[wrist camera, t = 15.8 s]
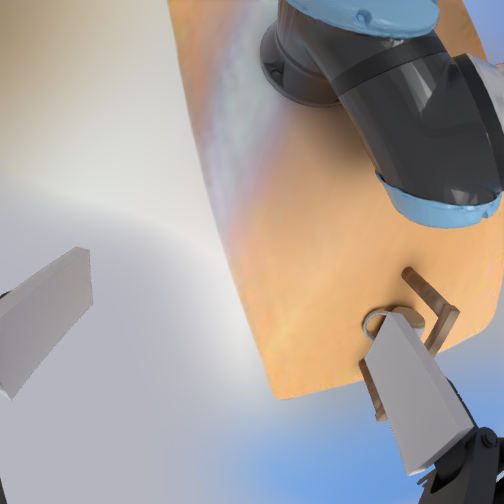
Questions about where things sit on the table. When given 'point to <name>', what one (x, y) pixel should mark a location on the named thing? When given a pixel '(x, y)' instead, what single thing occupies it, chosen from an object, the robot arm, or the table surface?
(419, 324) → the ceramic mug
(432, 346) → the walnut gate
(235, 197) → the table surface
